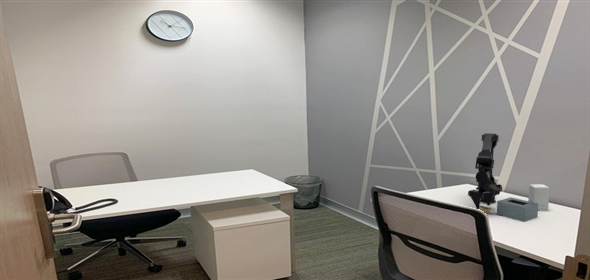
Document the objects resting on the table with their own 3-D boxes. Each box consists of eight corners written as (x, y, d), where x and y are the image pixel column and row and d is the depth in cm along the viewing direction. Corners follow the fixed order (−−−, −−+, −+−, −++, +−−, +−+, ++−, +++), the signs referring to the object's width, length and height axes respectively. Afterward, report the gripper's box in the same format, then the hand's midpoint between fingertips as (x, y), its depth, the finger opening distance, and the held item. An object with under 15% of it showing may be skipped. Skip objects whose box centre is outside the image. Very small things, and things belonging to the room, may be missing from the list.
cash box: (496, 214, 197) (497, 201, 196) (510, 210, 203) (510, 197, 202) (524, 221, 185) (525, 207, 184) (537, 216, 191) (538, 203, 190)
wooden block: (475, 210, 205) (476, 206, 204) (479, 209, 206) (479, 205, 206) (486, 213, 199) (486, 209, 199) (490, 212, 201) (490, 207, 201)
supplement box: (548, 210, 200) (549, 187, 198) (533, 210, 202) (534, 187, 200) (542, 206, 207) (543, 184, 206) (527, 206, 209) (528, 183, 207)
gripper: (487, 184, 189) (486, 214, 191) (509, 178, 198) (508, 207, 200) (467, 180, 199) (466, 208, 201) (489, 175, 208) (488, 202, 210)
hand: (483, 207), depth 203 cm, fingers open, 9 cm apart
